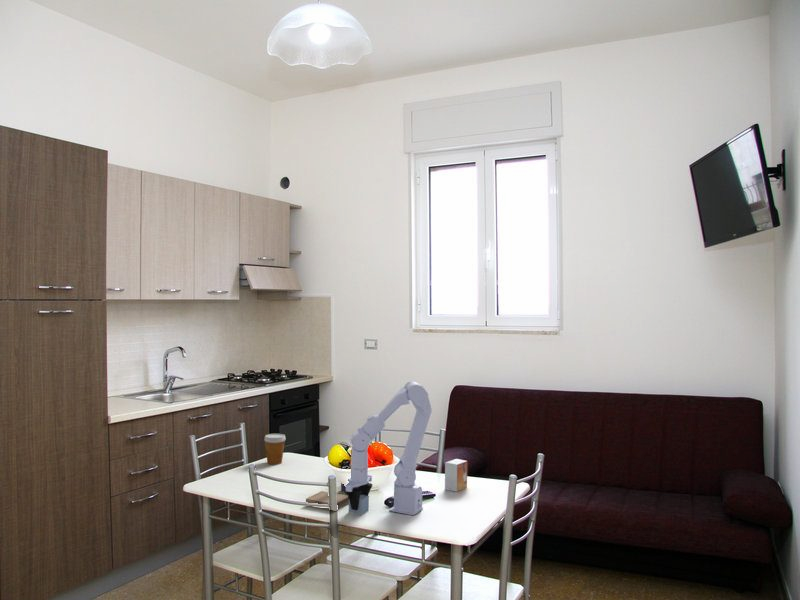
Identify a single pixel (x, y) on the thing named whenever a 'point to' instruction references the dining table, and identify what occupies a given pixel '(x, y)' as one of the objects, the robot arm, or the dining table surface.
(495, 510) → the dining table surface
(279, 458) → the disposable coffee cup
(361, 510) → the slate cube
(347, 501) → the walnut base
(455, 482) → the small box
